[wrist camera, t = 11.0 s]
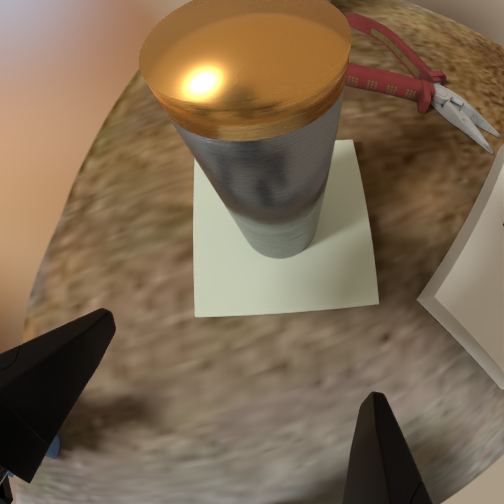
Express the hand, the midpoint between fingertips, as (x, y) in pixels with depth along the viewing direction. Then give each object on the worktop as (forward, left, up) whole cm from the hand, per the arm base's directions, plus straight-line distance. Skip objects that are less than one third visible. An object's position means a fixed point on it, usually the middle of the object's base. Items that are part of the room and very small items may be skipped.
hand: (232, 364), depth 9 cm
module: (+8, -1, -10) cm, 13 cm away
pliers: (+21, -14, -12) cm, 27 cm away
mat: (+8, -2, -11) cm, 13 cm away
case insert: (+4, -21, -11) cm, 24 cm away
